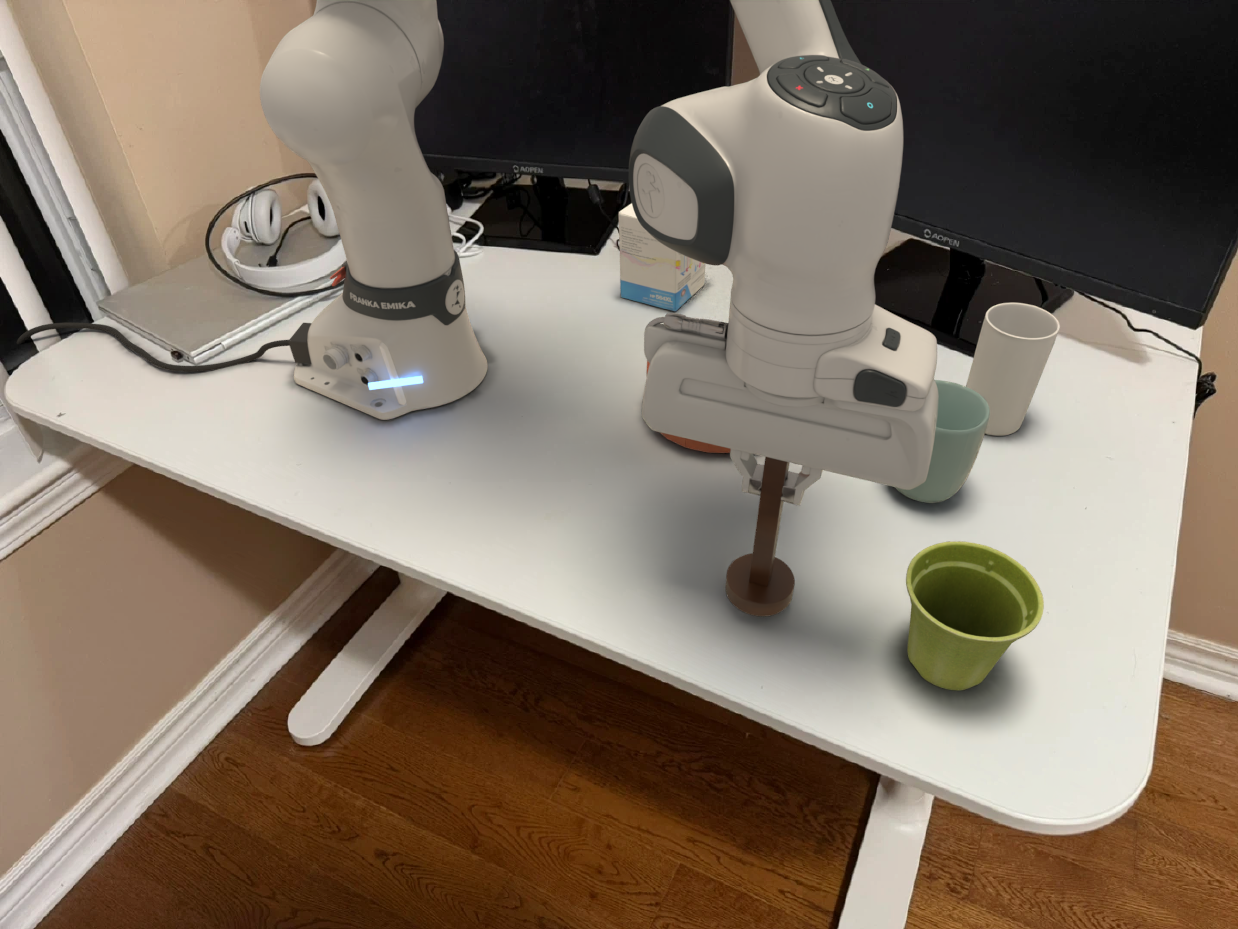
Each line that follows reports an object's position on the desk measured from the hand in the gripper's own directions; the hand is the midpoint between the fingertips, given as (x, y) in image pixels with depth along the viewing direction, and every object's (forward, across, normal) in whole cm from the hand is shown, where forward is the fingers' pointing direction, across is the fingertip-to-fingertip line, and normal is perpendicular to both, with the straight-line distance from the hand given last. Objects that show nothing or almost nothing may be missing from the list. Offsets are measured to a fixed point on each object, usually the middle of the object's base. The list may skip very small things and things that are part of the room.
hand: (773, 493), depth 63 cm
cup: (+12, +11, +19) cm, 26 cm away
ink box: (+13, -25, +47) cm, 55 cm away
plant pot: (+12, +16, -1) cm, 20 cm away
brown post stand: (+11, 0, 0) cm, 11 cm away
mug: (+12, +17, +34) cm, 40 cm away
